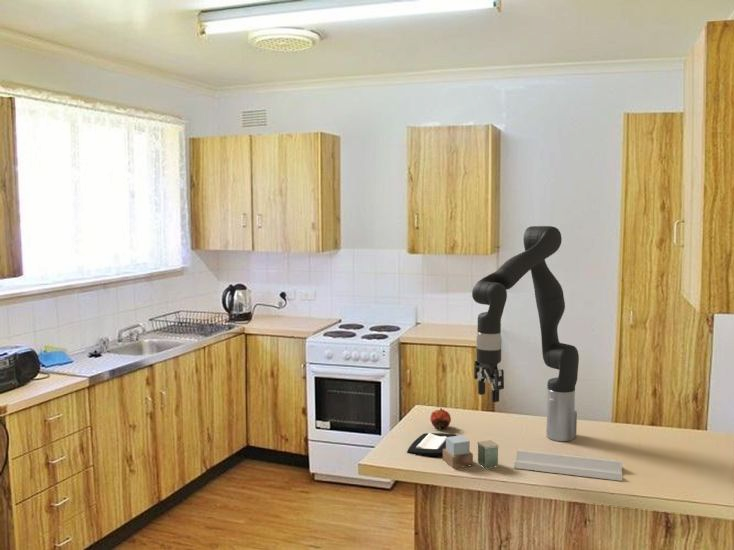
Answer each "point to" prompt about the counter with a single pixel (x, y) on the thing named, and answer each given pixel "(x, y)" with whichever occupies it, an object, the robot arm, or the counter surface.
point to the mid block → (457, 445)
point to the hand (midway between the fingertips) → (488, 398)
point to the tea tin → (488, 454)
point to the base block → (457, 459)
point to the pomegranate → (440, 418)
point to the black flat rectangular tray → (429, 444)
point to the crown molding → (569, 465)
